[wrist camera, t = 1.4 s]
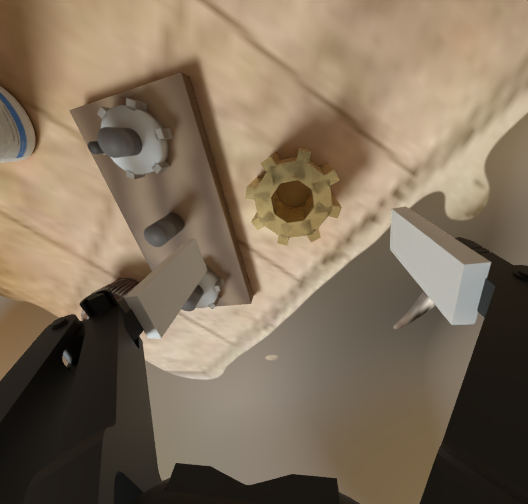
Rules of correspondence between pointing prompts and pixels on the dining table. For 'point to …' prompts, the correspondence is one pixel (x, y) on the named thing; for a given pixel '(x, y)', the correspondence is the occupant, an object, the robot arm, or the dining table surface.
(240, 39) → the dining table surface
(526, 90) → the dining table surface
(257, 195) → the brass gear
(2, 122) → the supplement tub
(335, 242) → the dining table surface
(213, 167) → the gear board
